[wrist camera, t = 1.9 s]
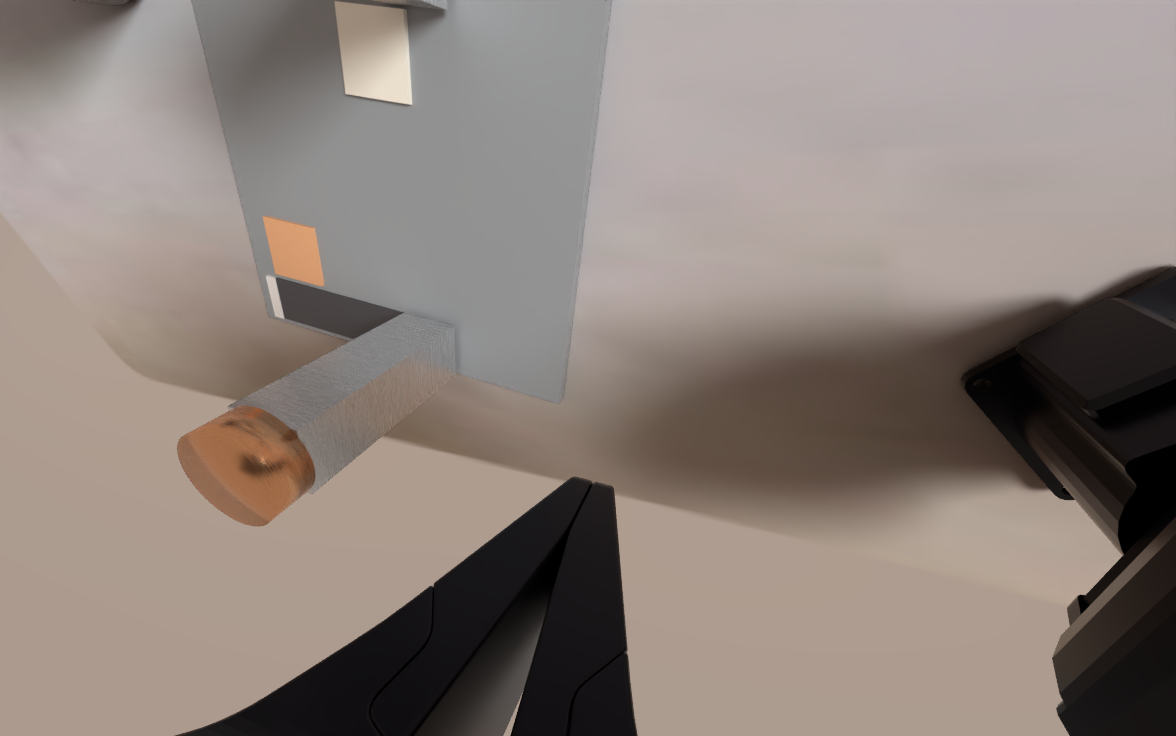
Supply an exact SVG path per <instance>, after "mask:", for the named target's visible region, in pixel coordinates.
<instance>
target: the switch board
mask: <svg viewBox="0 0 1176 736" xmlns="http://www.w3.org/2000/svg"><path fill="white" fill-rule="evenodd" d="M191 1H192V5H193V9H194V13H195V17H196V21H197V25H198V29H199V33H200V37H201V41H202V45H203V50H204V54H205V58H206V62H207V66H208V70H209V74H210V78H211V82H212V86H213V90H214V94H215V99H216V103H217V107H218V111H219V115H220V119H221V123H222V127H223V131H224V135H225V139H226V143H227V148H228V152H229V156H230V160H231V164H232V168H233V172H234V176H235V180H236V184H237V188H238V193H239V197H240V201H241V205H242V209H243V213H244V217H245V221H246V225H247V229H248V233H249V237H250V242H251V246H252V250H253V254H254V258H255V262H256V266H257V270H258V274H259V278H260V282H261V286H262V291H263V295H264V299H265V303H266V307H267V311H268V315H269V317H270V318H274V319H277V320H280V321H284V322H287V323H290V324H294V325H297V326H300V327H304V328H307V329H310V330H314V331H317V332H320V333H324V334H327V335H330V336H333V337H337V338H340V339H343V340H347V341H352V340H353V339H355V338H357V337H359V336H361V335H363V334H365V333H367V332H369V331H370V330H372V329H374V328H376V327H378V326H380V325H382V324H384V323H386V322H387V321H389V320H391V319H393V318H395V317H397V316H399V315H401V314H402V313H404V312H406V313H409V314H413V315H416V316H420V317H424V318H427V319H431V320H435V321H438V322H442V323H445V324H449V325H453V326H455V369H456V373H457V374H460V375H463V376H467V377H470V378H473V379H477V380H480V381H483V382H487V383H490V384H493V385H497V386H500V387H503V388H506V389H510V390H513V391H516V392H520V393H523V394H526V395H530V396H533V397H536V398H540V399H543V400H546V401H550V402H553V403H556V404H559V403H560V402H561V401H562V399H563V396H564V388H565V380H566V372H567V363H568V355H569V347H570V339H571V331H572V322H573V314H574V306H575V298H576V290H577V281H578V273H579V265H580V257H581V248H582V240H583V232H584V224H585V216H586V207H587V199H588V191H589V183H590V175H591V166H592V158H593V150H594V142H595V134H596V125H597V117H598V109H599V101H600V92H601V84H602V76H603V68H604V60H605V51H606V43H607V35H608V27H609V19H610V10H611V2H612V0H448V10H441V9H432V8H423V7H415V6H406V5H397V4H388V3H380V2H377V1H373V0H191Z"/></svg>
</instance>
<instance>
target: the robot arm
mask: <svg viewBox="0 0 1176 736" xmlns="http://www.w3.org/2000/svg"><path fill="white" fill-rule="evenodd" d="M980 379H986V381H985V383H984V384H982V385H980V386H973V384H974V382H976V381H977V380H980ZM961 385H962V387H963V389H964V390H965V391H966V392H967V394H968V395H969V396H970V397H971V398H972V399H973V401H974V402H975V403H976V404H977V405H978V406H979V408H980V409H981V410H982V411H983V412H984V413H985V414H986V416H987V417H988V418H989V419H990V420H991V421H992V423H993V424H994V425H995V426H996V427H997V428H998V430H999V431H1000V432H1001V433H1002V434H1003V435H1004V437H1005V438H1006V439H1007V440H1008V441H1009V442H1010V444H1011V445H1012V446H1013V447H1014V448H1015V449H1016V451H1017V452H1018V453H1019V454H1020V455H1021V456H1022V457H1023V459H1024V460H1025V461H1026V462H1027V463H1028V464H1029V466H1030V467H1031V468H1032V469H1033V470H1034V471H1035V473H1036V474H1037V475H1038V476H1039V477H1040V478H1041V480H1042V481H1043V482H1044V483H1045V484H1046V485H1047V487H1048V488H1049V489H1050V490H1051V491H1052V492H1053V494H1054V495H1055V496H1057V497H1058V498H1060V499H1064V500H1076V501H1077V502H1078V504H1079V505H1080V506H1081V507H1082V508H1083V509H1084V511H1085V512H1086V513H1087V514H1088V515H1089V517H1090V518H1091V519H1092V520H1093V521H1094V522H1095V524H1096V525H1097V526H1098V527H1099V528H1100V529H1101V531H1102V532H1103V533H1104V534H1105V535H1106V536H1107V538H1108V539H1109V540H1110V541H1111V542H1112V544H1113V545H1114V546H1115V547H1116V548H1117V549H1118V551H1119V552H1120V553H1121V554H1122V555H1123V556H1122V557H1121V558H1120V559H1119V560H1118V562H1117V563H1116V564H1115V565H1114V566H1113V567H1112V568H1111V569H1110V570H1109V571H1108V572H1107V573H1106V574H1105V575H1104V576H1103V577H1102V578H1101V580H1100V581H1099V582H1098V583H1097V584H1096V585H1095V586H1094V587H1093V588H1092V589H1091V590H1090V591H1089V592H1088V593H1087V594H1086V595H1078V596H1077V597H1076V598H1075V599H1074V601H1073V602H1072V603H1071V604H1070V605H1069V606H1068V607H1067V612H1068V618H1069V623H1070V627H1069V628H1068V629H1067V630H1066V631H1065V632H1064V633H1063V634H1062V635H1061V637H1060V639H1059V642H1058V644H1057V647H1056V650H1055V652H1054V655H1053V658H1052V660H1053V663H1054V669H1055V674H1056V679H1057V683H1058V688H1059V693H1060V695H1061V698H1062V699H1063V701H1062V702H1061V703H1060V704H1059V705H1058V707H1057V708H1056V709H1057V713H1058V716H1059V718H1060V720H1061V721H1062V723H1063V725H1064V726H1065V728H1066V730H1067V732H1068V733H1069V735H1070V736H1176V267H1174V268H1172V269H1169V270H1167V271H1165V272H1163V273H1161V274H1159V275H1157V276H1155V277H1153V278H1151V279H1149V280H1147V281H1145V282H1143V283H1141V284H1139V285H1137V286H1135V287H1133V288H1131V289H1129V290H1127V291H1125V292H1124V293H1122V294H1120V295H1118V296H1116V297H1114V298H1106V299H1104V300H1102V301H1100V302H1098V303H1096V304H1094V305H1092V306H1090V307H1088V308H1086V309H1084V310H1082V311H1080V312H1078V313H1076V314H1074V315H1072V316H1070V317H1068V318H1066V319H1064V320H1062V321H1060V322H1058V323H1057V324H1055V325H1053V326H1051V327H1049V328H1047V329H1045V330H1043V331H1041V332H1039V333H1037V334H1035V335H1033V336H1031V337H1029V338H1027V339H1025V340H1023V341H1021V342H1020V343H1019V345H1018V346H1016V347H1014V348H1012V349H1010V350H1008V351H1006V352H1004V353H1002V354H1000V355H998V356H996V357H994V358H992V359H990V360H988V361H987V362H985V363H983V364H981V365H979V366H977V367H975V368H973V369H971V370H969V371H967V372H966V373H965V374H964V375H963V376H962V378H961ZM1063 487H1065V488H1063ZM523 690H524V691H523ZM522 692H523V694H522ZM521 695H522V698H521V702H520V705H519V708H518V712H517V715H516V719H515V722H514V726H513V729H512V733H511V736H638V735H637V729H636V724H635V718H634V709H633V701H632V692H631V683H630V672H629V660H628V655H627V638H626V626H625V614H624V604H623V591H622V580H621V567H620V555H619V543H618V531H617V519H616V507H615V495H614V488H613V487H612V486H610V485H606V484H602V483H598V482H595V483H592V482H591V481H590V480H587V479H583V478H579V477H572V478H570V479H569V480H567V481H566V482H565V483H564V484H562V485H561V486H560V487H558V488H557V489H556V490H554V491H553V492H552V493H551V494H549V495H548V496H547V497H545V498H544V499H543V500H542V501H540V502H539V503H538V504H536V505H535V506H534V507H532V508H531V509H530V510H529V511H527V512H526V513H525V514H523V515H522V516H521V517H520V518H518V519H517V520H516V521H514V522H513V523H512V524H511V525H509V526H508V527H507V528H505V529H504V530H503V531H501V532H500V533H499V534H497V535H496V536H495V537H494V538H492V539H491V540H490V541H488V542H487V543H486V544H484V545H483V546H482V547H480V548H479V549H478V550H477V551H475V552H474V553H473V554H471V555H470V556H469V557H467V558H466V559H465V560H464V561H462V562H461V563H460V564H458V565H457V566H456V567H454V568H453V569H452V570H451V571H449V572H448V573H447V574H445V575H444V576H443V577H441V578H440V579H439V580H438V581H436V582H435V583H434V588H433V587H432V586H429V587H428V588H427V589H426V590H424V591H423V592H422V593H420V594H419V595H418V596H417V597H415V598H414V599H413V600H411V601H410V602H408V603H407V604H406V605H405V606H403V607H402V608H400V609H399V610H398V611H396V612H395V613H393V614H392V615H391V616H389V617H388V618H387V619H385V620H384V621H382V622H381V623H379V624H378V625H376V626H375V627H374V628H372V629H370V630H369V631H367V632H366V633H364V634H363V635H361V636H360V637H358V638H357V639H355V640H354V641H352V642H351V643H349V644H348V645H346V646H345V647H343V648H341V649H340V650H338V651H337V652H335V653H334V654H332V655H330V656H329V657H327V658H326V659H324V660H322V661H321V662H319V663H318V664H316V665H315V666H313V667H312V668H310V669H308V670H307V671H305V672H304V673H302V674H301V675H299V676H297V677H296V678H294V679H293V680H291V681H289V682H288V683H286V684H285V685H283V686H282V687H280V688H278V689H277V690H275V691H274V692H272V693H271V694H269V695H268V696H266V697H264V698H263V699H261V700H259V701H257V702H256V703H254V704H252V705H250V706H249V707H247V708H245V709H243V710H241V711H239V712H237V713H236V714H233V715H231V716H229V717H227V718H224V719H222V720H220V721H218V722H216V723H212V724H210V725H208V726H205V727H202V728H199V729H196V730H193V731H190V732H186V733H183V734H179V735H176V736H503V735H504V733H505V730H506V728H507V726H508V724H509V721H510V719H511V717H512V715H513V712H514V710H515V708H516V706H517V703H518V701H519V699H520V696H521Z"/></svg>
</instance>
